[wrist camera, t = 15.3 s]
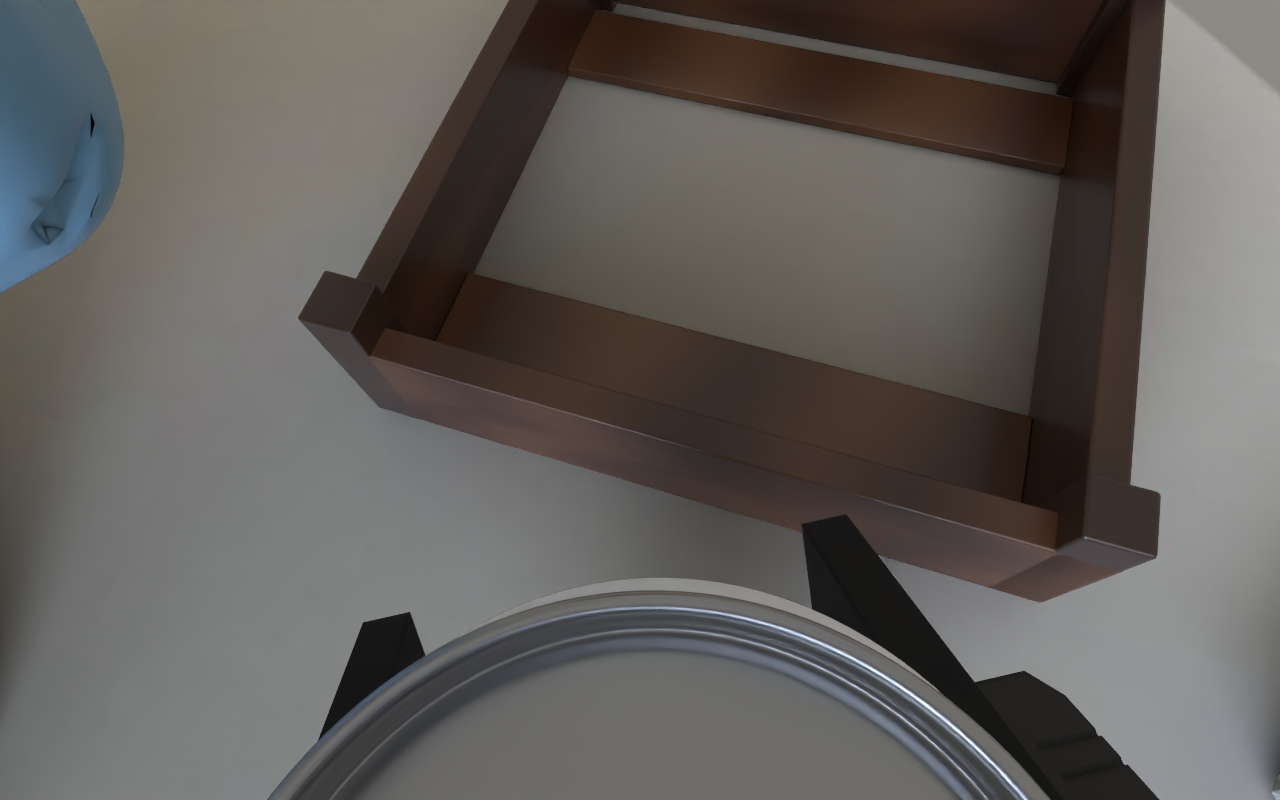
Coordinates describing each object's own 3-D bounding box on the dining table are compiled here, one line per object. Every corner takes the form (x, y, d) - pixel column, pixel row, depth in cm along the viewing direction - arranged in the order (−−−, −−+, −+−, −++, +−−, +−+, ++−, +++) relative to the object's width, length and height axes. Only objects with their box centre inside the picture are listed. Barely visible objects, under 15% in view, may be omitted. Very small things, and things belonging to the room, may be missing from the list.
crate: (378, 407, 22) (296, 318, 18) (590, -19, 29) (572, -165, 25) (1041, 603, 19) (1159, 559, 14) (1101, 72, 26) (1194, -75, 21)
